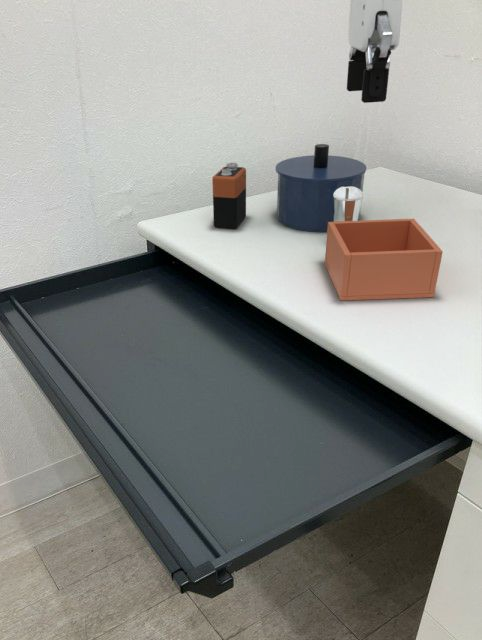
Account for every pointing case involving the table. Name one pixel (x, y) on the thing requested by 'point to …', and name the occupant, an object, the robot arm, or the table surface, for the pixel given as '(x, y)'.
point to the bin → (381, 259)
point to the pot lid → (321, 167)
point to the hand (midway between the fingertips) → (365, 95)
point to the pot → (309, 202)
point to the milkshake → (347, 203)
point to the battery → (229, 196)
